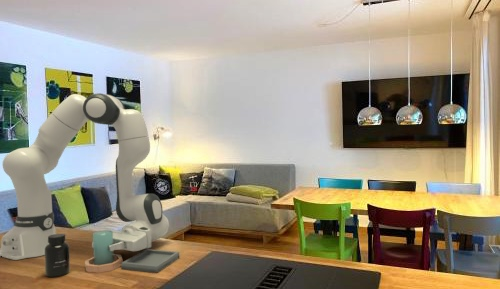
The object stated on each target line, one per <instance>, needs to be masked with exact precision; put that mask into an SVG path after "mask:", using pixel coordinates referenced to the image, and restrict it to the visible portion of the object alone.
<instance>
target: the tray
mask: <svg viewBox="0 0 500 289" xmlns="http://www.w3.org/2000/svg"><path fill="white" fill-rule="evenodd" d="M178 259H180V252H179V251H173V250H163V249H151V248H147V249H146V248H145V249H143V251H142V250H141V251H140V252H139V253H136V254H135V255H133V256H131V257H129V258H128V259H126V260H124V261H123V262H122V263H121V266H120V267H121V270H126V271H135V272H144V273H145V272H146V273H154V274H158V273H159V272H160V271H162V270H164V269H165V268H166V267H168V266H170V264H172V263H173V262H175V261H176V260H178Z"/></svg>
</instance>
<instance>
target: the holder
mask: <svg viewBox="0 0 500 289" xmlns="http://www.w3.org/2000/svg"><path fill="white" fill-rule="evenodd" d="M113 255H114V262H113V263H109V264H104V265H94V256H92V257H90V258H88V259H86V260H85V261H84V262H85V264H84V265H85V271H86V272H87V273H96V274H99V273H105V272H111V271H115V270H116V269H118V268H120V267H121V263H122V262H124V261H123V257H122V255H121V254H115V253H113Z"/></svg>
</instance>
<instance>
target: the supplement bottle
mask: <svg viewBox="0 0 500 289" xmlns="http://www.w3.org/2000/svg"><path fill="white" fill-rule="evenodd" d="M48 243H49V244H48V245H47V246H46V247H45V255H44V270H45V272H44V273H45V276H46V277H48V278H57V277H63V276H65V275H67V274H68V273H70V271H71V270H70V269H71V268H70V267H71V266H70V265H71V263H70V260H71V259H70V245H69V243H68V242H66V234H65V233H56V234H54V235H50V236H48Z"/></svg>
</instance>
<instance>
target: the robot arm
mask: <svg viewBox="0 0 500 289" xmlns="http://www.w3.org/2000/svg"><path fill="white" fill-rule="evenodd" d="M88 121H90V122H92V123H95V124H98V125H99V124H100V125H105V126H107V125H108V126H112V127H113V128H114V129H115V132H116V136H117V137H116V138H117V142H118V143H117V144H118V155H117V158H116V161H115V181H116V182H115V183H116V203H115V214H116V215H117V217H118V219H120V220H121V221H122V222H125V223H128V224H125V225H124V226H122V228H121V230H114V229H111V231H112V232H113V244H110V245H108V246H107V248H108V251H113V252H114V251H117V250H125V251H128V252H129V251H130V252H139V251H142V250H146V249H151V248H152V242H154V241H156V240H158V239H160V238H162V237H164V236H165V234H166V235H167V233H168V231H169V229H170V221H169V219H168V217H167V216H165V214H164V213H163V204H162V201H161V199H160V197H159V196H158V195H156V194H155V193H144V194H143V193H142V194H135V193H134V189H133V187H134V186H133V172H134V169H135V168H136V167H137V166H138V165H139V164H141V163H142V162H144V160H145V159H146V158H147V157H148V156H149V154H150V151H151V143H150V138H149V133H148V128H147V126H146V125H147V124H146V121H145V119H144V116H143V115H142V112H141V111H139V110H136V109H133V108H129V109H128V108H127V109H126V108H125V105H124V103H123V101H122V100H120V99H119V98H118V97H115V96H113V95H111V94H104V93H98V92H97V93H93V94H90V95H89V96H88V97H86V96H84V95H81V94H78V93H73V94H70V95H68V97H66V98H64V100H63V101H62V102H60V103H59V104H58V106H56V108H55V109H54V110H53V111H51V113H50V114H49V116H48V117H47V118H46V119H45V121H44V122H43V123H42V124H41V125H40V127H39V129H38V134H37V136H36V138H35V140H34V142H33V143H32V144H30V146H29V147H21V148H20V147H19V148H17V149H15V150H12V151H11V152H9V153H8V154H6V155H5V157H4V158H3V161H2V168H3V171H4V173H5V174H6V175H7V176H8V177H9V178H10V180H11V183H12V185H13V188H14V191H15V196H16V203H17V216H15V217H13V219H12V222H14V226H13V227H11V229H9V231H7V232H6V233H5V234H4V235H3V236H2V237H1V241H0V257H1V256H2V258H5V259H8V260H9V259H10V260H13V261H17V260H23V259H27V258H36V257H41V256H45V247H46V246H47V245H48V244H49V243H48V236H50V235H54V234H57V233H56V232H57V231H56V227H55V224H54V223H55V222H54V221H55V214H54V211H53V201H52V200H53V199H52V191H51V189H50V188H49V186H48V184H47V182H46V179H45V175H47V174H49V173H50V172H52V171H54V169H56V167H57V166H58V165H59V160H60V158H61V157H62V155H63V153H64V152H65V150H66V148H67V147H68V145H69V144H70V142H71V141H72V140H73V138H75V136H77V134H78V133H79V132H80V130H81V129H82V128H83V126H84V125H85V124H86V123H88ZM129 222H131V223H129ZM91 248H92V249H93V242H91Z"/></svg>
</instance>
